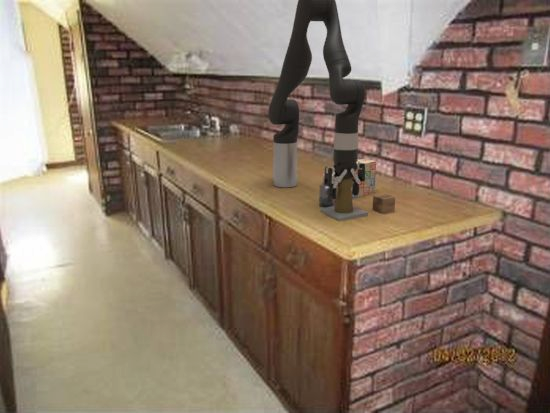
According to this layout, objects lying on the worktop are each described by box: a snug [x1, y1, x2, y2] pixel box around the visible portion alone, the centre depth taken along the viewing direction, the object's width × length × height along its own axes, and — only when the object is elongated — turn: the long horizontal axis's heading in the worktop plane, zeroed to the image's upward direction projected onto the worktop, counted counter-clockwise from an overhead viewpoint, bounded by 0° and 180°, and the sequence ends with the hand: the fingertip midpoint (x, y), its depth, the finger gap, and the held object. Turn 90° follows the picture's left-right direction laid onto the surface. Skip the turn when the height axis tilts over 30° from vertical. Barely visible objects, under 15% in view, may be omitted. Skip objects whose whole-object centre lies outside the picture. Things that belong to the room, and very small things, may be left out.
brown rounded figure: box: [334, 178, 354, 213], centre depth 151 cm, size 6×6×11 cm
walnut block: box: [372, 193, 396, 215], centre depth 155 cm, size 5×5×5 cm
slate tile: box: [319, 205, 369, 222], centre depth 153 cm, size 11×11×1 cm
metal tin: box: [318, 183, 335, 208], centre depth 161 cm, size 5×5×7 cm
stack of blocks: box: [321, 158, 377, 204], centre depth 171 cm, size 21×6×12 cm, turn 127°
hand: (344, 196), depth 151 cm, fingers open, 8 cm apart
